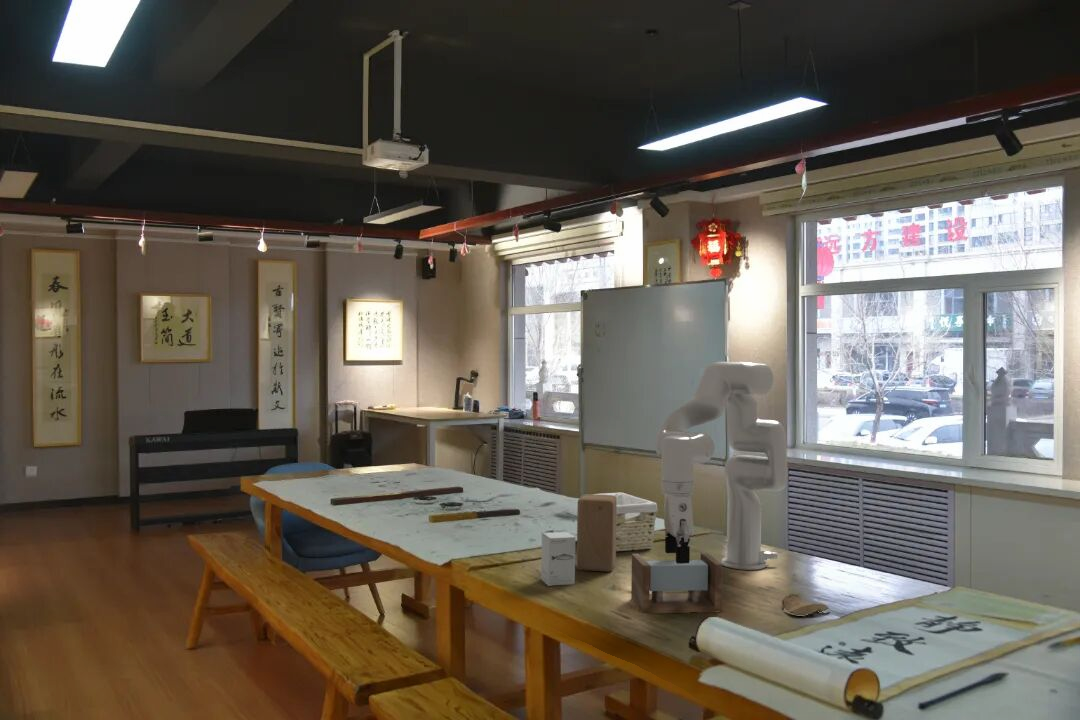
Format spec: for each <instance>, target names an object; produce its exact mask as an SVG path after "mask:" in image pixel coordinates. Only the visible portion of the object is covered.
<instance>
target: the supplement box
mask: <svg viewBox="0 0 1080 720" xmlns="http://www.w3.org/2000/svg"><path fill="white" fill-rule="evenodd" d="M575 563H576V536H574V535H573V534H571V533H570V532H568V531H565V532H563V531H562V532H561V531H560V532H557V531H556V532H541V562H540V564H541V566H540V567H541V568H540V569H541V570H540V571H541V572H540V575H541V576H540V580H542V582H543V583H544V584H546V585H547V586H548V587H552V586H568V585H569V586H570V585H571V586H572V585H573V586H574V585H576V584H575V583H576V582H575V579H576V578H575V577H576V574H575V573H576V564H575Z"/></svg>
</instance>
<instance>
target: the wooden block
mask: <svg viewBox="0 0 1080 720" xmlns="http://www.w3.org/2000/svg"><path fill="white" fill-rule="evenodd" d="M595 494H596V493H595ZM595 494H591V493H590V494H589V493H585V494H582V496H580V497H579V498H578V500H577V512H576V513H577V515H576V516H577V518H576V519H577V524H576V526H577V527H576V533H577V534H576V539H577V540H576V569H578V570H579V571H590V572H606V573H609V572H612V571H613V568H614V567H615V565H616V562H617V551H616V505H617V499H616V496H614V495H595Z"/></svg>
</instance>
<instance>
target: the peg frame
mask: <svg viewBox="0 0 1080 720" xmlns="http://www.w3.org/2000/svg"><path fill="white" fill-rule="evenodd" d="M700 560H702V561H704V562H705V563H706V564H707V565H708V590H687V592H685V593H684V592H683V593H682V592H679V593H673V592H672V593H663V592H664V591H651V593H650V590H649V585H650V565H649V564H648V563H647V562H646V561H647V560H645V559H644V558H643V557H642V556H641V555H640V554H639V553H632V554H631V594H630V597H631V598H630V599H631V602H632V603H633V604H634V605H635V606H636V608H637V609H638V610H639V611H640V612H642V613H650V614H678V613H679V614H681V613H682V614H685V613H686V614H689V613H690V612H697V613H715V612H714V611H722V610H723V609H722V608H723V607H722V605H723V564H722V563H721V562H720V561H719V560H717V559H716V558H715V557H713V556H712V555H711V554H709V553H708V552H700ZM712 611H713V612H712ZM722 612H723V611H722ZM642 613H641V614H642ZM690 614H691V613H690Z"/></svg>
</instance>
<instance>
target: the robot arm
mask: <svg viewBox="0 0 1080 720" xmlns="http://www.w3.org/2000/svg"><path fill="white" fill-rule="evenodd" d="M774 380H775V379H774V373H773V370H772V369H771V367H770V366H769V365H768V364H766V363H756V362H750V361H748V362H746V361H716V362H712V363H709V364H708V365H707V366H706V368H705V370H704V372H703V373H702V376H701V378H700V380H699V383H698V386H697V387H696V390H695V392H694V394H693V395H692V396H693V397H692V399H691V400H688V401H687V402H685V403H684V404H682V405H680V406H679V407H677V408H676V409H674V410H673V411H672V412H671V413H669V415H667V416H666V418H665V419H664V420H663V423H662V425H661V427H660V429H659V431H658V434H657V437H656V441H655V452H656V454H657V456H658V457H659V458H660V460H661V494H662V495H664V504H663V505H664V506H663V523H664V524H663V525H664V529H665V531H664V532H665V533H664V535H665V538H664V543H665V544H664V545H665V546H664V551H665V554H675V560H676V563H677V564H685V563H689V562H690V560H691V559H690V550H691V549H690V546H691V543H690V542H691V539H690V537H693V536H694V518H693V517H694V516H693V515H694V514H693V501H692V496H693V494H694V464H704V463H707V462H708V461H710V460H711V459H712V457H713V455H714V452H715V443H714V440H713V439H712V437H710V435H708V434H706V433H704V432H703V433H702V432H693V431H692V432H690V431H687V430H689V429H691V428H693V427H696V426H701V425H705V424H707V423H710V422H713V421H715V420H717V419H719V418H720V417H721V416H722V415H723V413H724V410H725V407H726V417H727V418H726V421H727V437H728V443H729V446H730V448H731V449H732V450H734V451H737V452H742V453H743V452H744V453H752V454H754V453H755V454H764V455H766V456H758V455H748V454H746V455H745V454H739V455H738V454H737V455H736V454H735V455H733V456H731V457H729V458H728V459H727V460H726V462H725V464H724V477H725V482H726V483H725V485H726V491H727V492H726V493H727V521H726V522H727V529H726V530H727V531H726V532H727V535H726V539H727V542H726V557H722V558H721V562H720V563H721V564H722V566H724V567H727V568H729V569H730V568H731V569H734V570H744V571H746V570H747V571H754V570H755V571H756V570H763V569H765V568H766V567H767V562H766V561H767V560H769V559H770V560H777V559H778V553H777V552H776V551H775V552H773V551H772V552H771V551H765V550H763V549H762V503H761V501H760V498H759V496H758V495H757V493H756V492H755V491H766V492H767V491H769V492H780V491H783V490H784V489H785V487H786V485H787V484H788V455H787V437H786V431H785V428H784V425H782V423H781V422H779V421H777V420H773V419H760V418H759V416H758V402H757V400H756V397H755V396H763V395H764V396H765V395H767V394H769V392H770V391H771V390H772V388H773V385H774ZM754 490H755V491H754Z"/></svg>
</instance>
